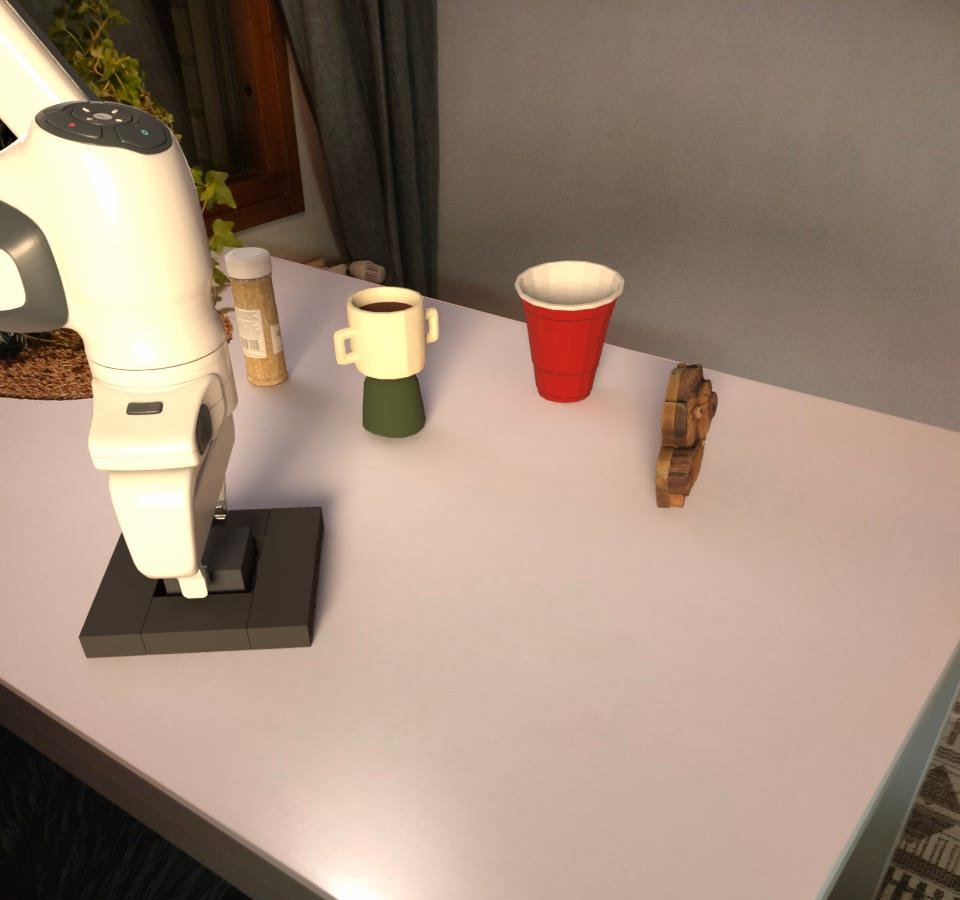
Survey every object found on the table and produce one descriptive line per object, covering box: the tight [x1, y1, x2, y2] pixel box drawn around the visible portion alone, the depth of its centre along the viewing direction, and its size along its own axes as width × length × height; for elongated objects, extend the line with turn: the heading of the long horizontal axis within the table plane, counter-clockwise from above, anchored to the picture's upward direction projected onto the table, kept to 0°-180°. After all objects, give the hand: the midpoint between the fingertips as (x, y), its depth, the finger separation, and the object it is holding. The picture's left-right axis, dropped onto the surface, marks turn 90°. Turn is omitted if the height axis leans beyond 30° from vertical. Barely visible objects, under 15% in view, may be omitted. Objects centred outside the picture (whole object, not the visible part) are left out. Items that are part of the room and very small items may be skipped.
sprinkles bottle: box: [224, 246, 289, 387], centre depth 96 cm, size 5×5×14 cm
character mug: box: [333, 286, 440, 439], centre depth 87 cm, size 11×7×13 cm, turn 123°
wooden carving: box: [654, 362, 719, 509], centre depth 81 cm, size 16×5×10 cm, turn 167°
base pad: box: [78, 505, 325, 659], centre depth 71 cm, size 16×16×2 cm
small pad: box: [163, 527, 258, 597], centre depth 71 cm, size 6×6×4 cm
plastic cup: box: [514, 259, 626, 404], centre depth 94 cm, size 11×11×12 cm
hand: (208, 554), depth 70 cm, fingers open, 8 cm apart
